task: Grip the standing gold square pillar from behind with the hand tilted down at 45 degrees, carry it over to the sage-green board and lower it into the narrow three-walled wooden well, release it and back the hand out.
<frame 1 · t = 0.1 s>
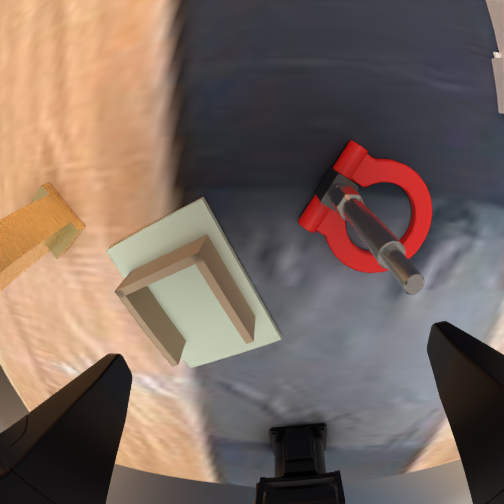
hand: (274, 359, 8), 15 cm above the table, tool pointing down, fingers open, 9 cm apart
gold square pillar: (55, 219, 23), on the table
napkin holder: (494, 52, 15), on the table
well: (195, 294, 25), on the table
tow hook: (372, 211, 21), on the table
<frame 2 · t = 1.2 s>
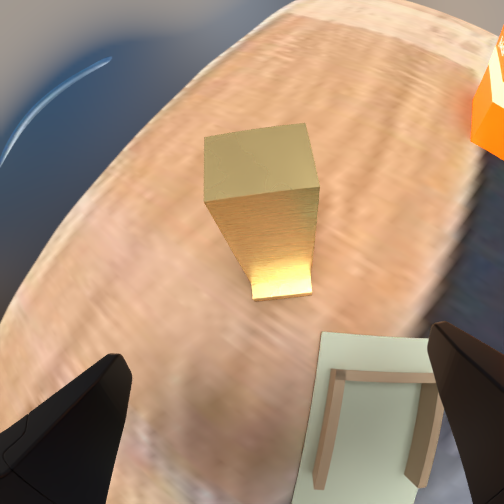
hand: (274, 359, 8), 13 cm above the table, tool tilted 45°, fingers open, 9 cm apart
gold square pillar: (279, 264, 23), on the table
well: (371, 428, 18), on the table
orange juice: (502, 138, 24), on the table
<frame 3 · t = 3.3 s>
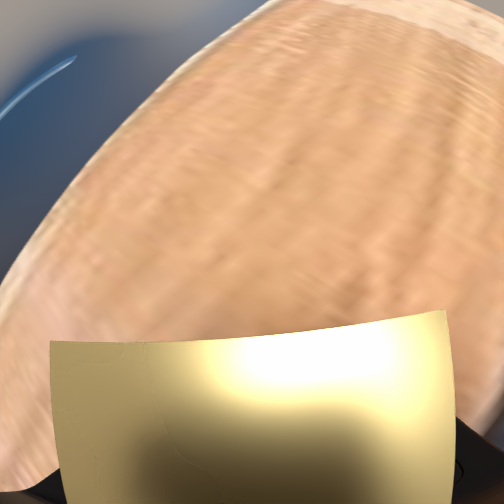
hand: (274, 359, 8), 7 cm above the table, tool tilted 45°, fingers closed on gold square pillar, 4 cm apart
gold square pillar: (287, 388, 14), on the table, touching gripper
when the fingers open (9 cm above the table, at t = 7.0 s): gold square pillar drops 1 cm, resting on well.
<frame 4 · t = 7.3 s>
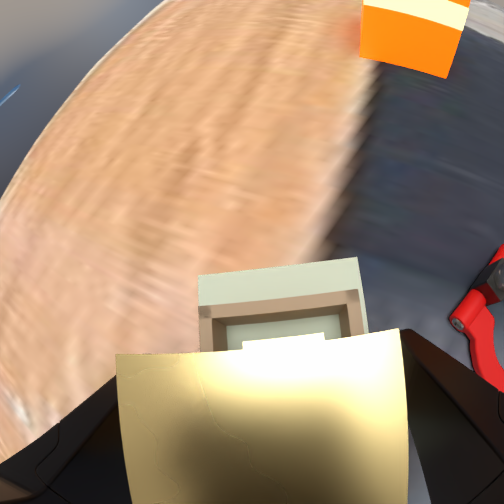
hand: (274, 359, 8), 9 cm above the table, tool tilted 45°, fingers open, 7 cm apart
gold square pillar: (288, 385, 15), point 1 cm above the table, touching well
well: (288, 385, 16), on the table
orange juice: (401, 49, 24), on the table
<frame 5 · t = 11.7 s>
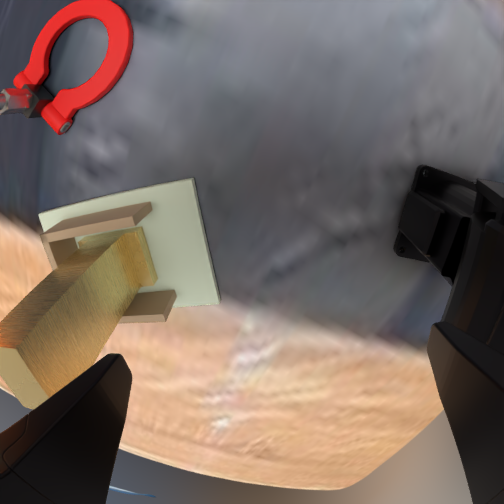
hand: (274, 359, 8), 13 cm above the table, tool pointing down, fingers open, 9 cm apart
gold square pillar: (119, 257, 21), point 1 cm above the table, touching well
well: (123, 253, 22), on the table
tow hook: (78, 58, 16), on the table
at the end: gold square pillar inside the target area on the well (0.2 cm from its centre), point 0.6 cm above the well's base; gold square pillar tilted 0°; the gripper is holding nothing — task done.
